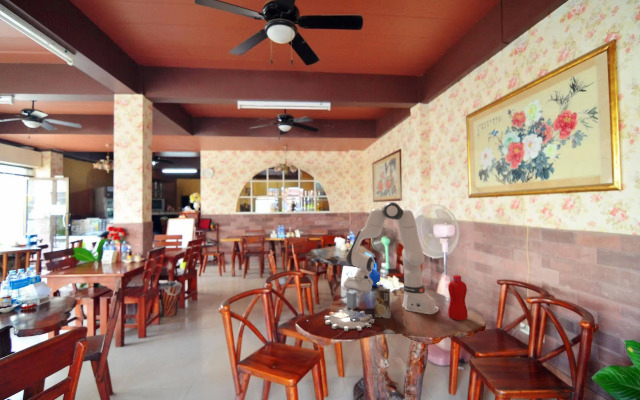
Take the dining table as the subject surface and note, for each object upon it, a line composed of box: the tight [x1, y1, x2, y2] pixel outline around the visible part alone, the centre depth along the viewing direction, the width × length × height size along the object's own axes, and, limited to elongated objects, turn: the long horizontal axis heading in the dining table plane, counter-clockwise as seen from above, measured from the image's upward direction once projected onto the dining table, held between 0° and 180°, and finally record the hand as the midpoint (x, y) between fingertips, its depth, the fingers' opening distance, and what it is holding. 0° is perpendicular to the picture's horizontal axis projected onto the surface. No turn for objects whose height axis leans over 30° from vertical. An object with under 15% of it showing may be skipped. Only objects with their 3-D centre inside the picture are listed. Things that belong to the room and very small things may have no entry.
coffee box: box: [373, 287, 392, 319], centre depth 184 cm, size 9×6×16 cm
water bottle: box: [447, 274, 469, 322], centre depth 179 cm, size 9×11×25 cm
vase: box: [369, 268, 381, 287], centre depth 251 cm, size 18×18×19 cm
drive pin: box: [346, 290, 358, 310], centre depth 199 cm, size 4×4×10 cm
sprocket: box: [324, 308, 375, 332], centre depth 177 cm, size 29×29×2 cm
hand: (352, 295), depth 200 cm, fingers open, 8 cm apart
